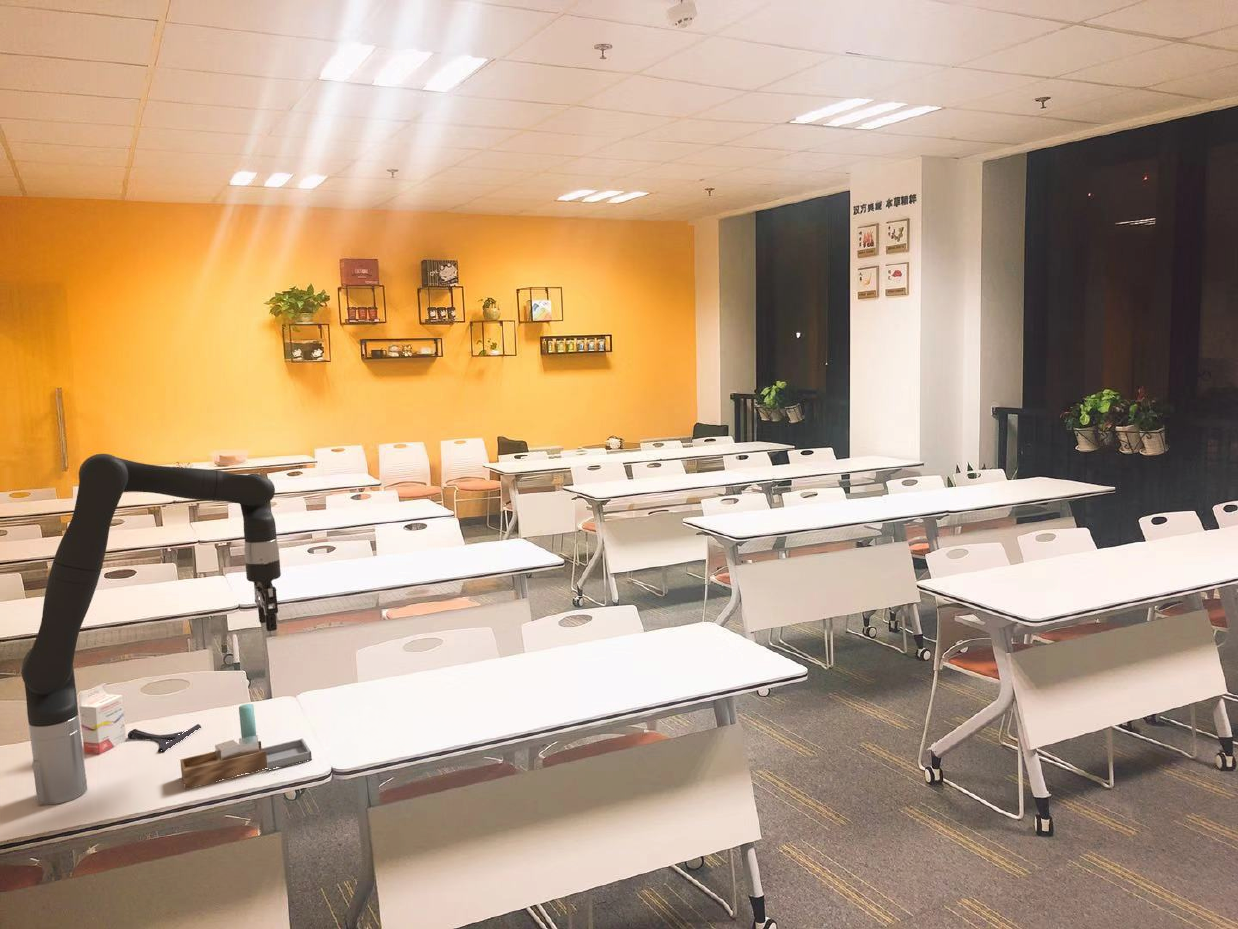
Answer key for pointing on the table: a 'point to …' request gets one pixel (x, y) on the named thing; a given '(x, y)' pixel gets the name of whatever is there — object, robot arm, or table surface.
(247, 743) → the chip
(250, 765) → the channel
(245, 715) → the teal block
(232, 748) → the light grey block
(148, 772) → the table surface
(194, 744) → the table surface
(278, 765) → the tray
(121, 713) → the ink cartridge box
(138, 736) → the black forked piece
